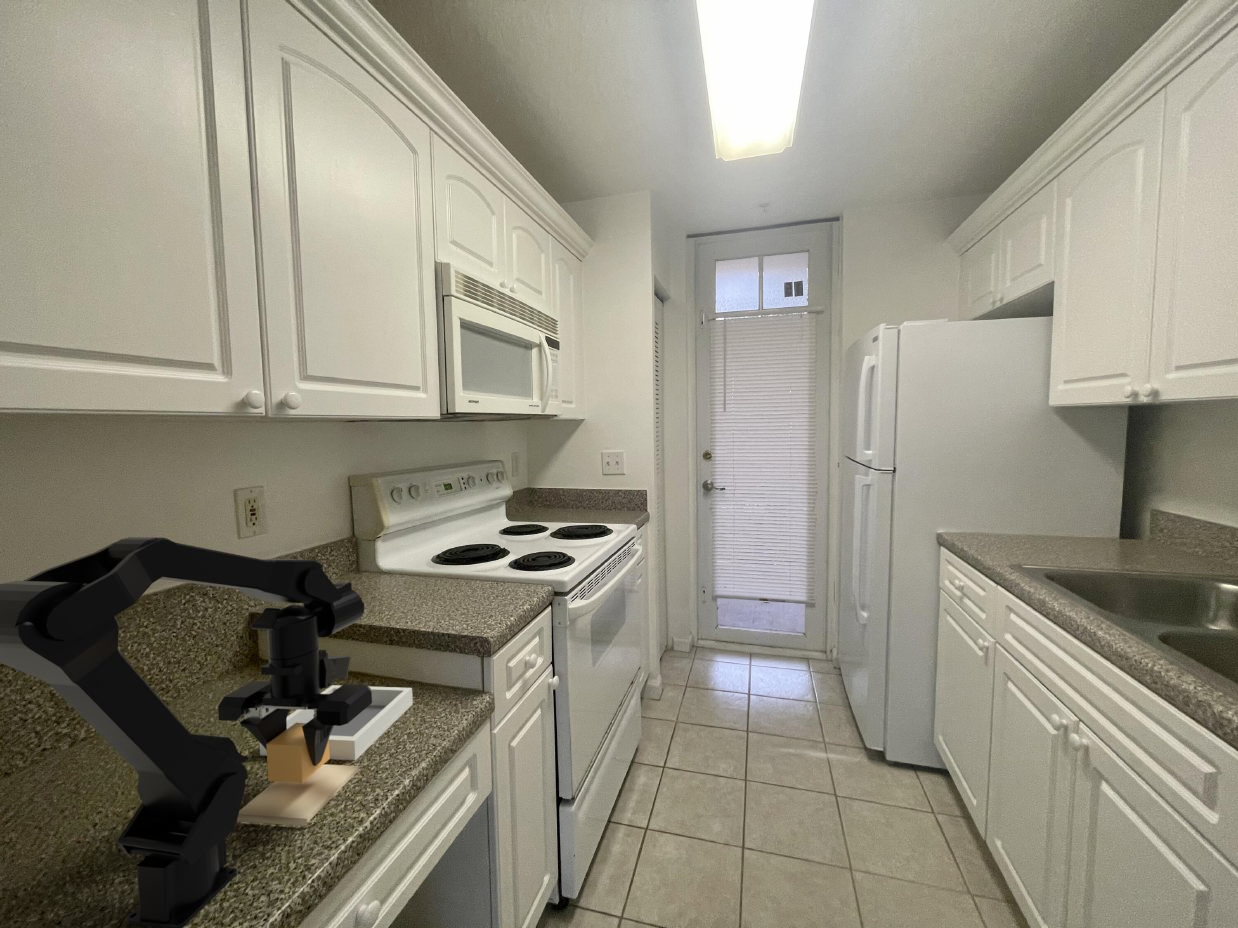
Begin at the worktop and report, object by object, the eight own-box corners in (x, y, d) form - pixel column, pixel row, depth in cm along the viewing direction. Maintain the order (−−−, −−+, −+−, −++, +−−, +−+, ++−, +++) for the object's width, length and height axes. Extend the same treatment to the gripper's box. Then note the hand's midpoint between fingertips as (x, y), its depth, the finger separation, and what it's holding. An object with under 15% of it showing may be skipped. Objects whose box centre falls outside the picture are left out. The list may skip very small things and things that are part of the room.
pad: (307, 826, 60) (307, 818, 60) (236, 821, 62) (235, 813, 61) (359, 772, 70) (358, 766, 70) (297, 769, 71) (296, 762, 71)
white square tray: (355, 763, 73) (354, 740, 72) (260, 757, 74) (259, 736, 74) (412, 706, 88) (411, 687, 88) (333, 703, 90) (332, 685, 90)
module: (302, 782, 63) (300, 745, 63) (268, 780, 64) (266, 743, 63) (329, 758, 68) (328, 723, 68) (297, 756, 68) (296, 722, 68)
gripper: (392, 629, 72) (396, 731, 73) (280, 627, 74) (285, 726, 75) (341, 662, 61) (346, 781, 62) (211, 658, 63) (217, 774, 64)
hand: (299, 762), depth 66 cm, fingers closed on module, 5 cm apart
